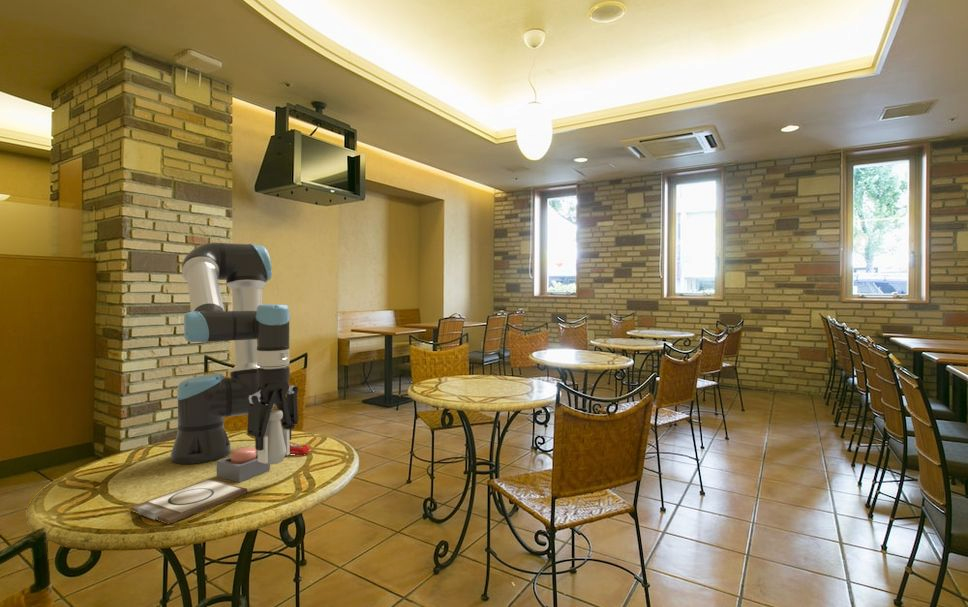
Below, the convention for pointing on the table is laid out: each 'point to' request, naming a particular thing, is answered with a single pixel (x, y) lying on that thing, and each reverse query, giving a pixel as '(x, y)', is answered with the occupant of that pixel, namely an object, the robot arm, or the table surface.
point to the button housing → (240, 469)
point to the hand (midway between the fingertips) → (274, 457)
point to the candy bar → (298, 449)
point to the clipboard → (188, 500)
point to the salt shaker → (275, 437)
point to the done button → (243, 455)
